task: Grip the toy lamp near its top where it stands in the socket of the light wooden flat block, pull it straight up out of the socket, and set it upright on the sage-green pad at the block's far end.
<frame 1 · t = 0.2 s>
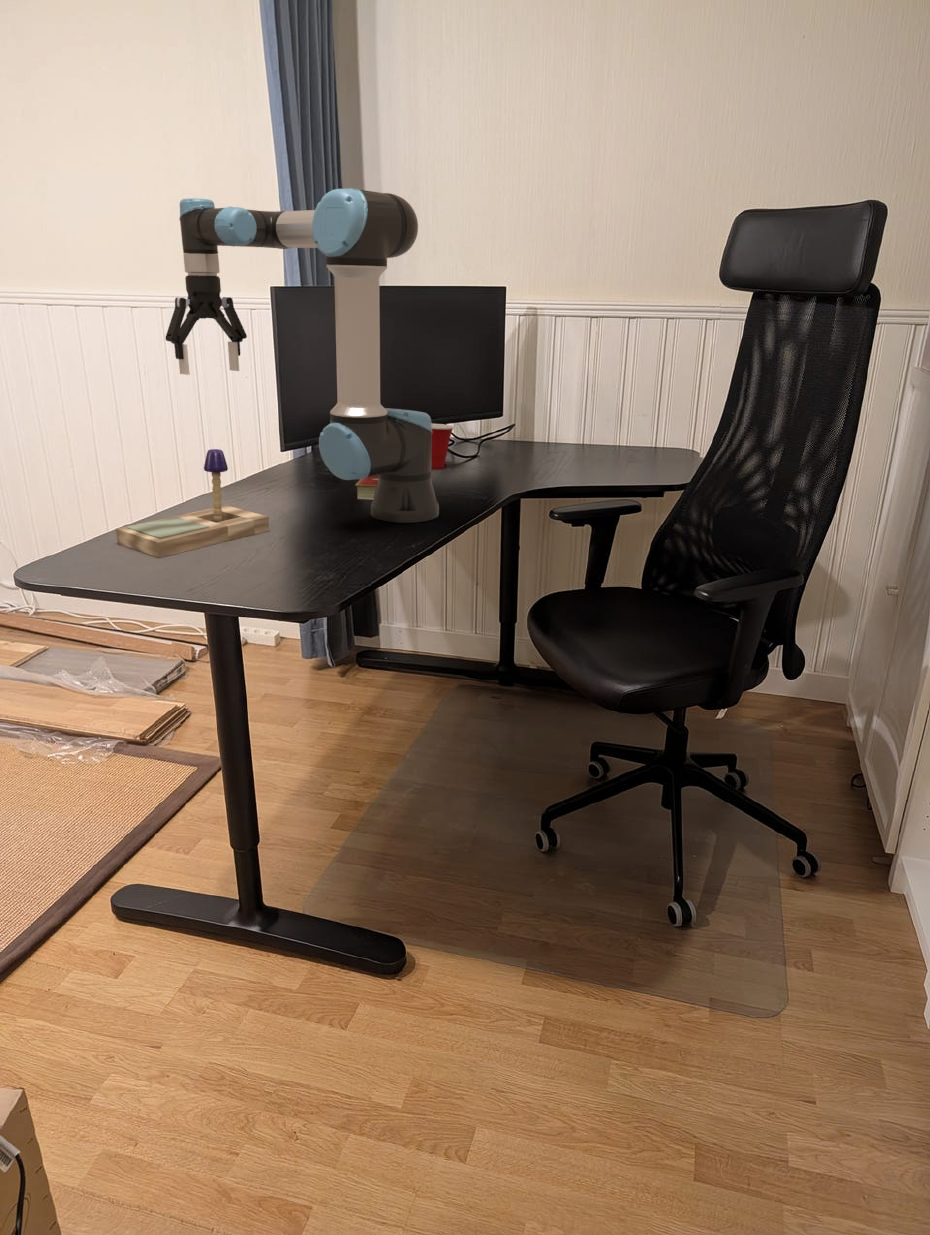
hand: (210, 372, 209), 28 cm above the table, fingers open, 13 cm apart
plastic cup: (434, 468, 251), on the table
light wooden flat block: (195, 536, 180), on the table
hardcover book: (388, 493, 223), on the table
toy lamp: (220, 532, 185), resting in light wooden flat block
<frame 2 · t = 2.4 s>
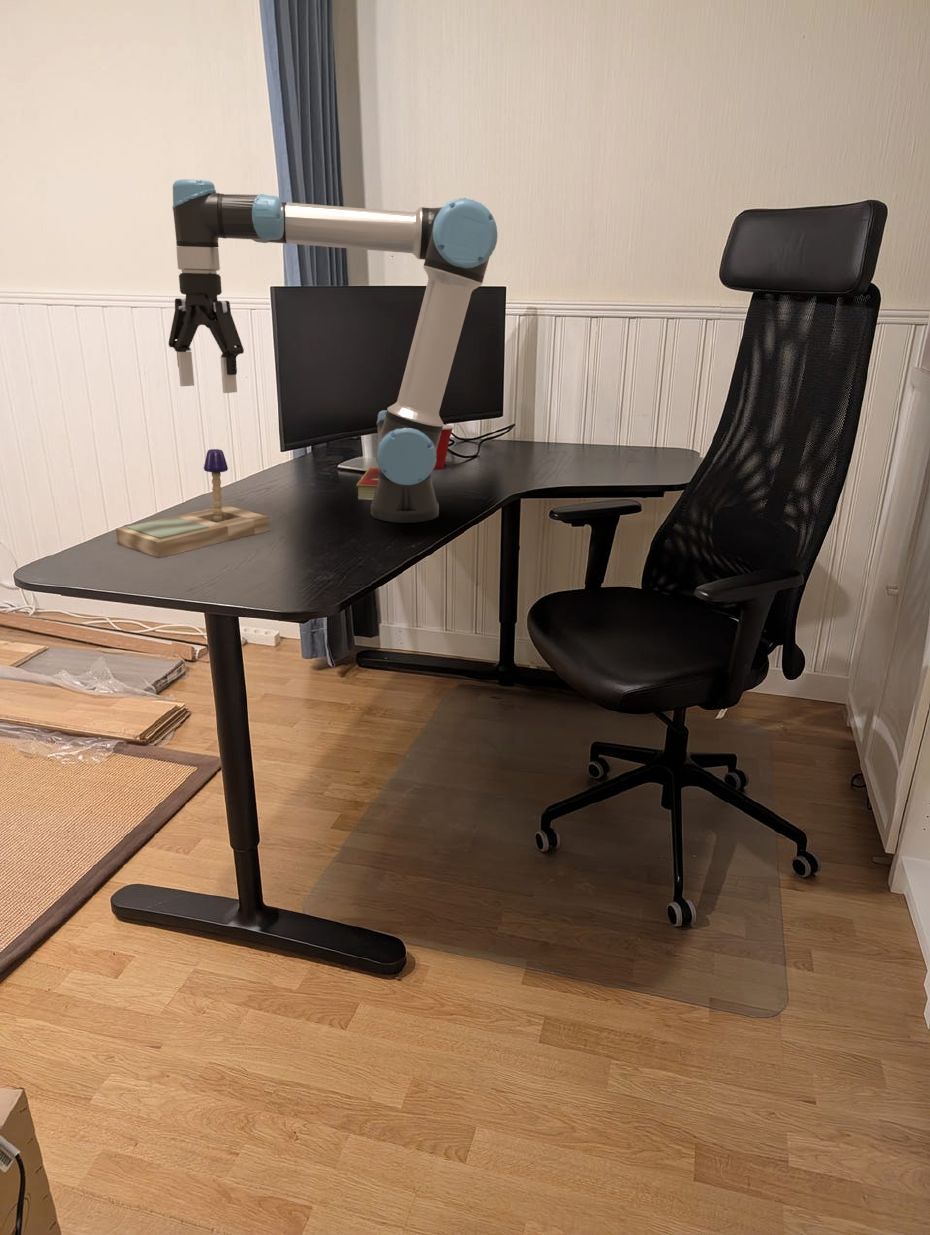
hand: (208, 389, 174), 28 cm above the table, fingers open, 13 cm apart
nothing on the table moved.
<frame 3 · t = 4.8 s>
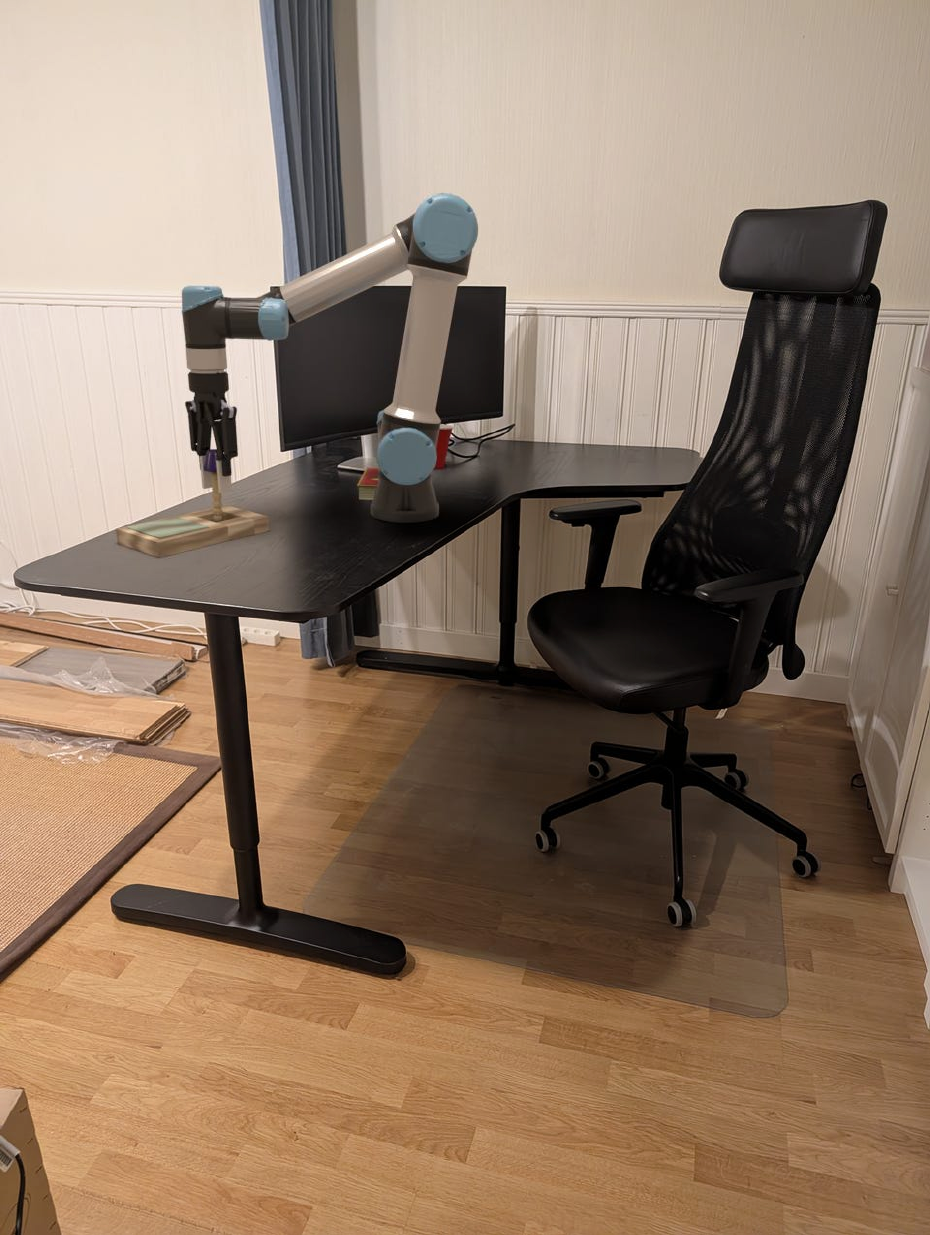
hand: (217, 489, 181), 9 cm above the table, fingers closed on toy lamp, 5 cm apart
toy lamp: (220, 532, 185), resting in light wooden flat block, touching gripper
everything else where it was.
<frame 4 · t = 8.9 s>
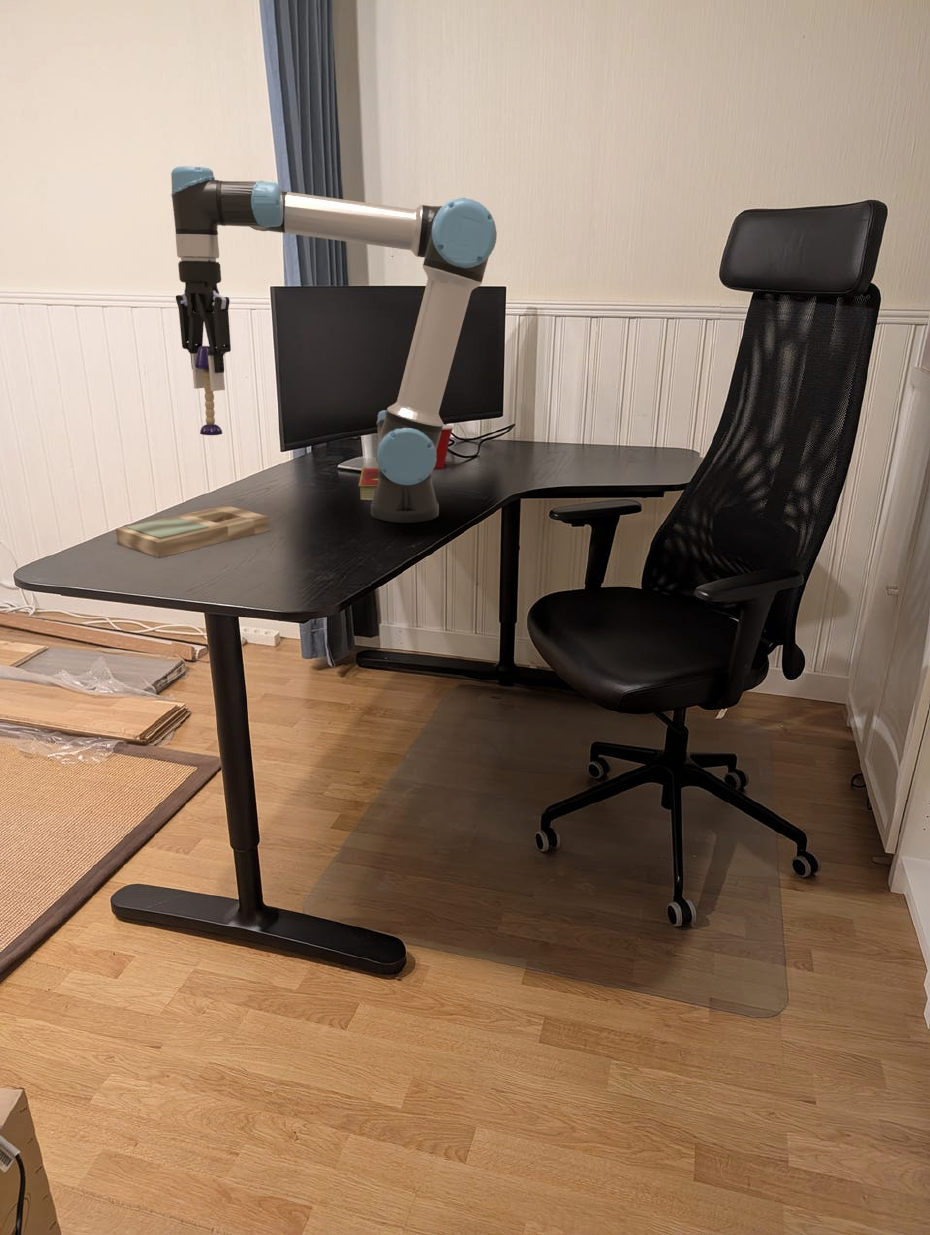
hand: (209, 388, 174), 29 cm above the table, fingers closed on toy lamp, 5 cm apart
toy lamp: (213, 435, 178), point 20 cm above the table, touching gripper
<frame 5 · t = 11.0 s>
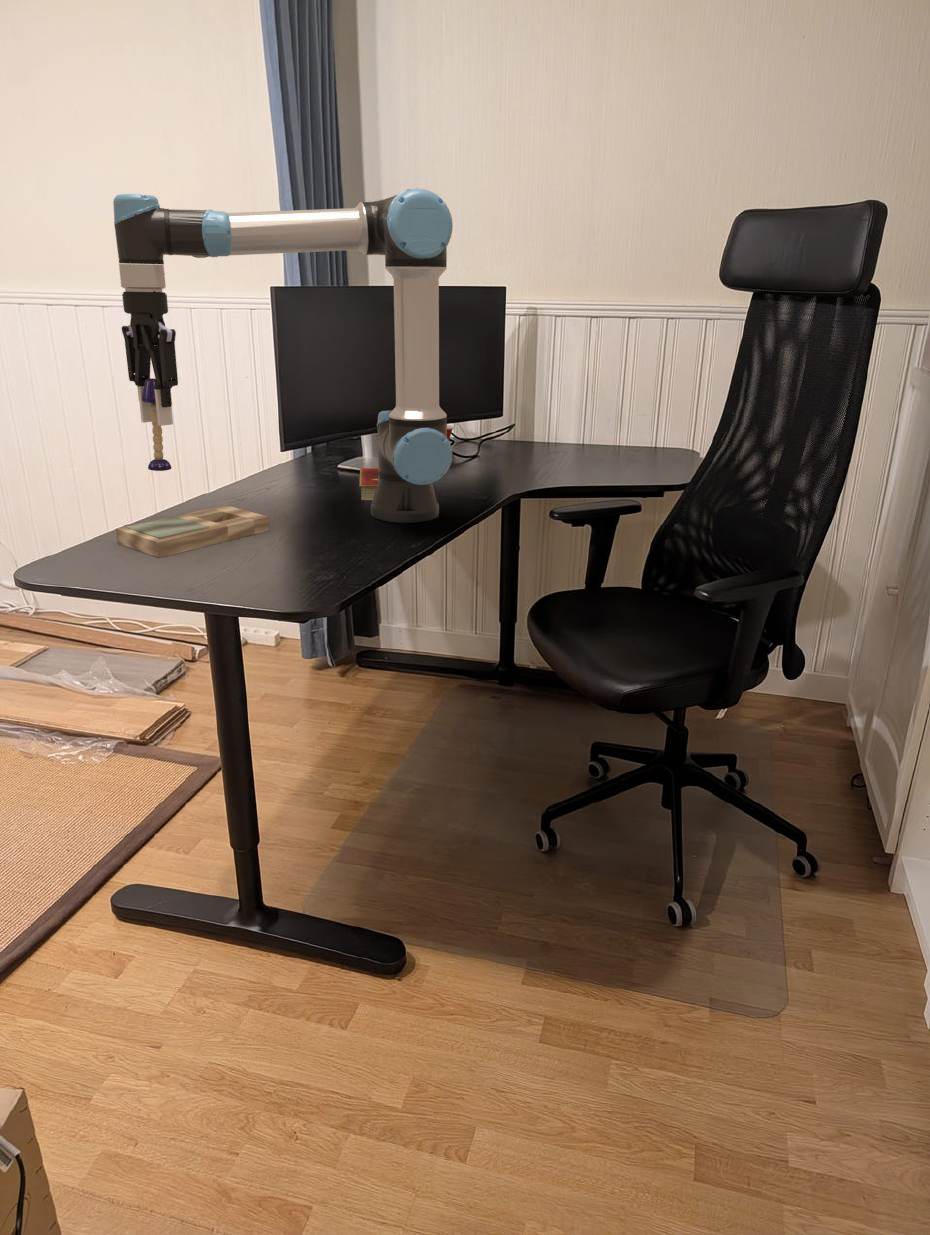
hand: (157, 422, 167), 23 cm above the table, fingers closed on toy lamp, 5 cm apart
toy lamp: (161, 470, 171), point 14 cm above the table, touching gripper
when the fingers open (14 cm above the table, at t = 12.9 s): toy lamp drops 2 cm, resting on light wooden flat block.
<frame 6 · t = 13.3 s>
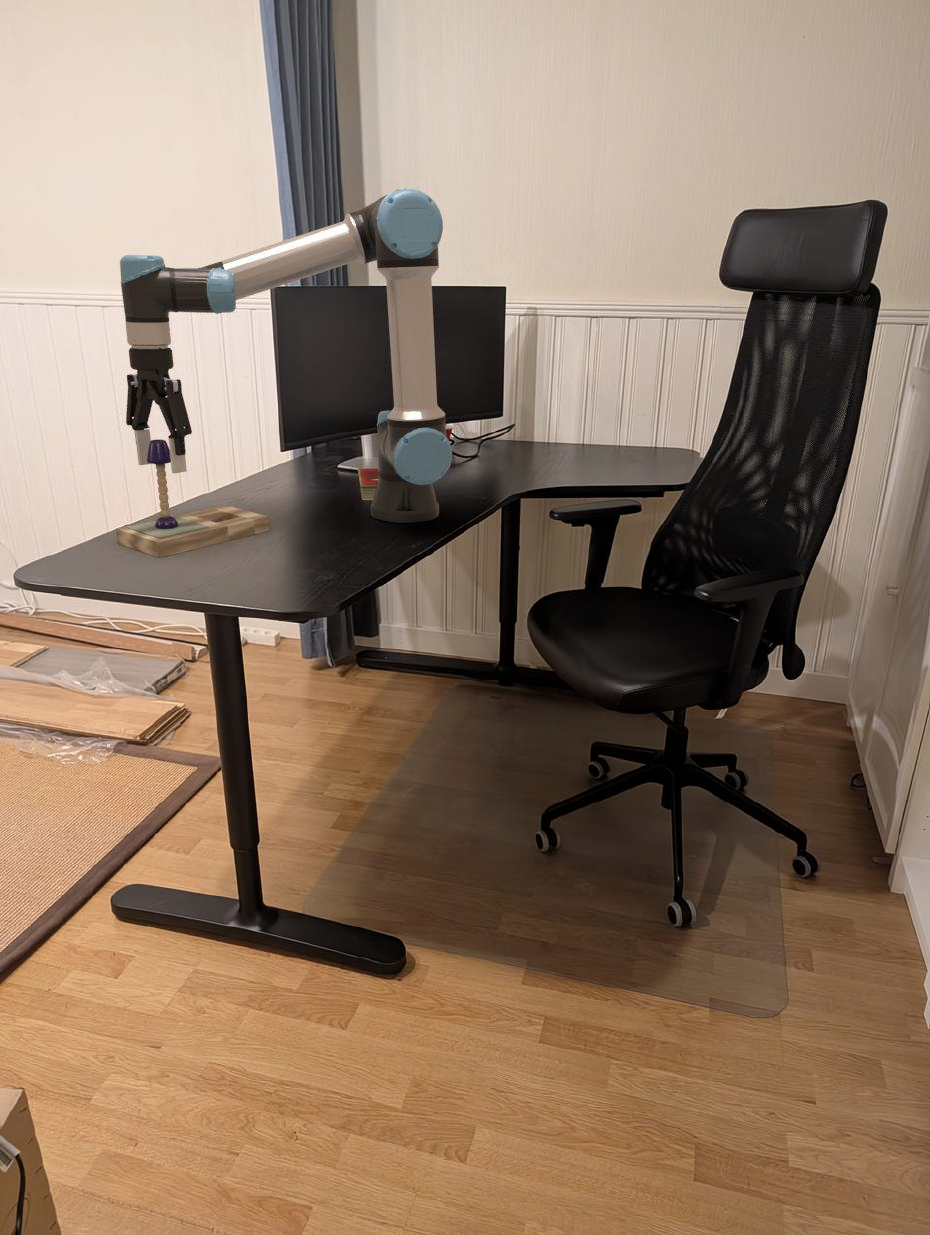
hand: (162, 468, 171), 15 cm above the table, fingers open, 10 cm apart
toy lamp: (168, 527, 175), point 3 cm above the table, touching light wooden flat block
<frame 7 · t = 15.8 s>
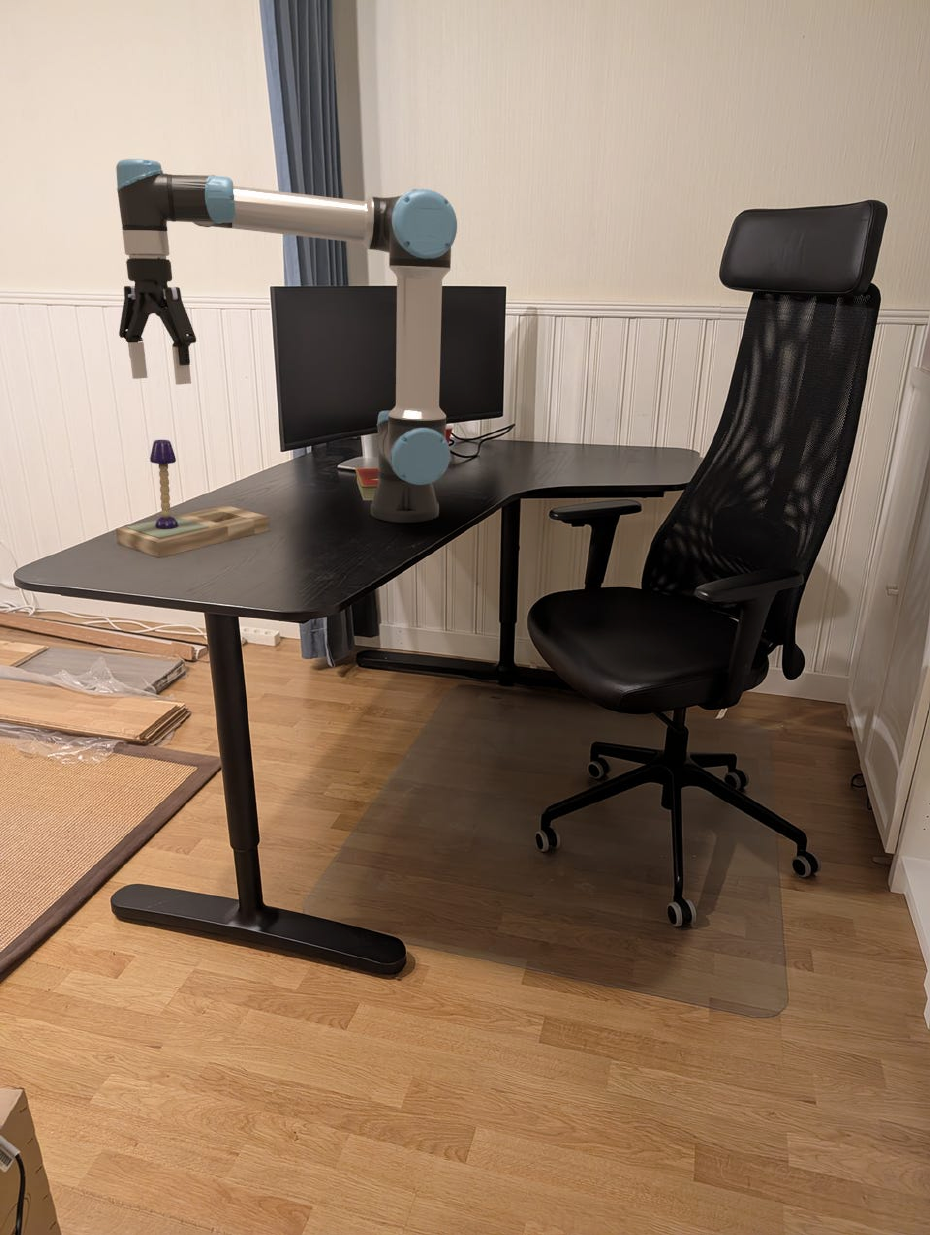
hand: (161, 381, 166), 31 cm above the table, fingers open, 13 cm apart
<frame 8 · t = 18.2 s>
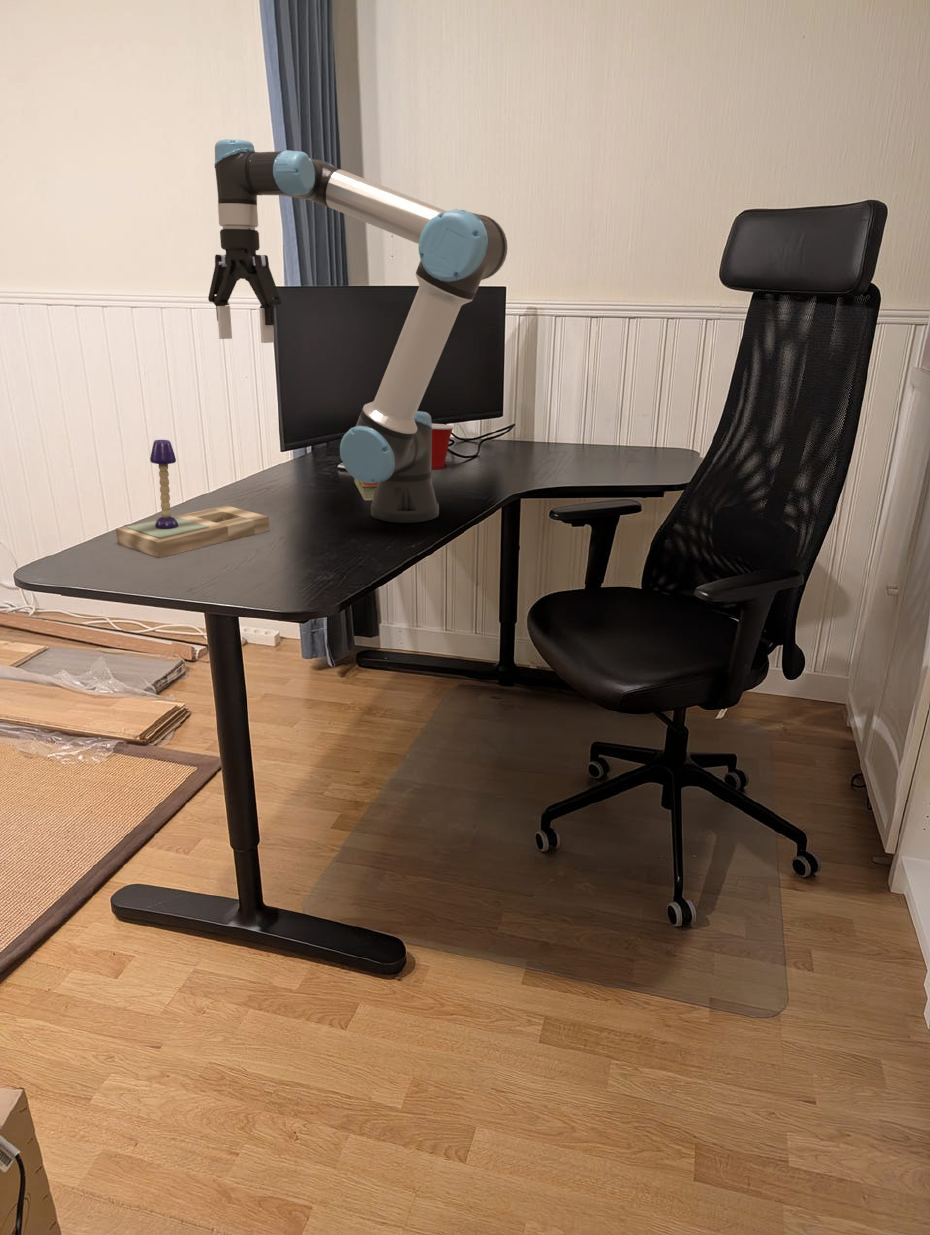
hand: (246, 340, 185), 37 cm above the table, fingers open, 13 cm apart
at the end: toy lamp inside the target area on the light wooden flat block (0.1 cm from its centre), point 3.1 cm above the light wooden flat block's base; toy lamp tilted 0°; the gripper is holding nothing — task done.
